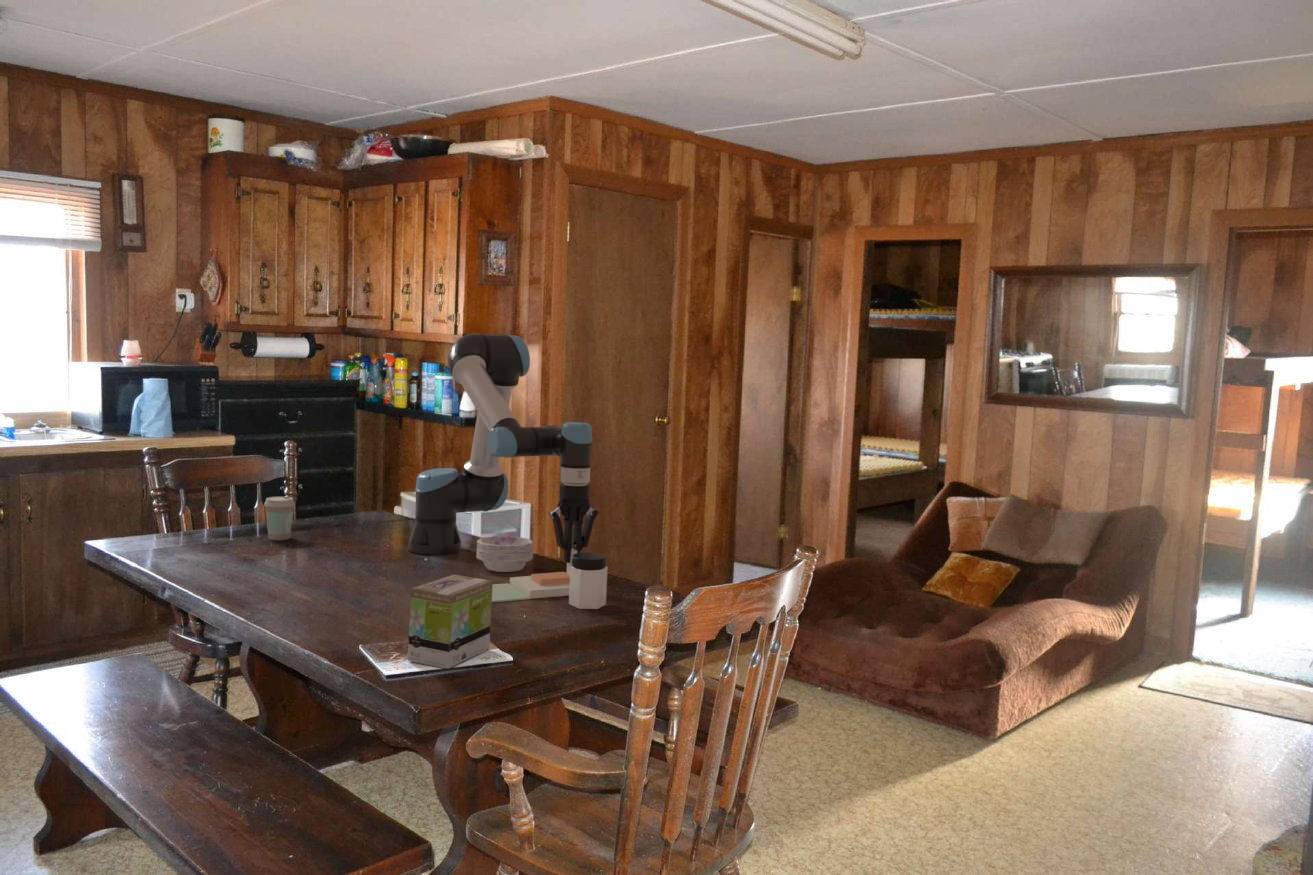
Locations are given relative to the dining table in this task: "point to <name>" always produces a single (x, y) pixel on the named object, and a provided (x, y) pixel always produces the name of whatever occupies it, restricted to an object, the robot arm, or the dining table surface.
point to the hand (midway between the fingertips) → (571, 574)
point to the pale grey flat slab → (538, 588)
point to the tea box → (449, 620)
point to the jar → (588, 581)
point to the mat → (506, 593)
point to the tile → (551, 578)
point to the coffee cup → (279, 517)
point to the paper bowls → (504, 553)
